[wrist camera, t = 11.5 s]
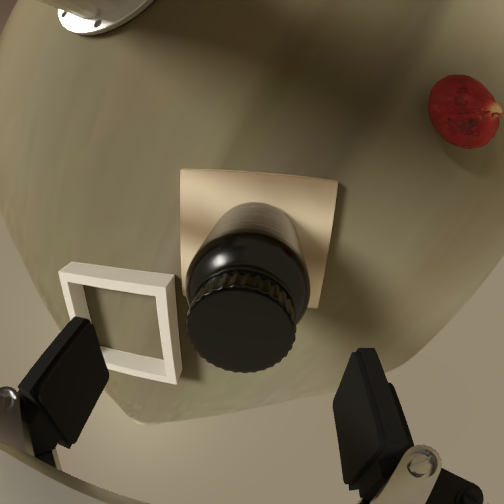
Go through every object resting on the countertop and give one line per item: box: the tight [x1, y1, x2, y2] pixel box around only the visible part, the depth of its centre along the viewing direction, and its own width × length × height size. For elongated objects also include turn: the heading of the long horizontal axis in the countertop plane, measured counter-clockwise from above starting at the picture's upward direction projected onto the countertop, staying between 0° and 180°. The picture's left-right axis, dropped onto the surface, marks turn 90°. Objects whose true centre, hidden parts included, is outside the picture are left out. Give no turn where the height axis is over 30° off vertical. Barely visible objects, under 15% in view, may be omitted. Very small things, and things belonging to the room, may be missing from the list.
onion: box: [428, 75, 503, 149], centre depth 15 cm, size 6×6×8 cm
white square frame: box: [58, 262, 183, 385], centre depth 27 cm, size 12×12×2 cm
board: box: [180, 169, 338, 308], centre depth 24 cm, size 11×12×1 cm
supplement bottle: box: [185, 202, 311, 373], centre depth 18 cm, size 7×7×12 cm
